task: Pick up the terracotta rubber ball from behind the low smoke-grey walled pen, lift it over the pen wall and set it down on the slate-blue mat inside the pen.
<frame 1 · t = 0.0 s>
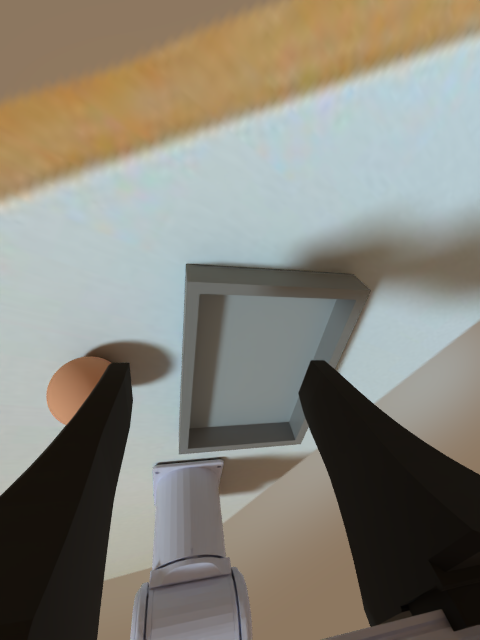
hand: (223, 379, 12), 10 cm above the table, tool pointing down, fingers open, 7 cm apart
walled pen: (253, 364, 26), on the table
ball: (87, 391, 21), point 2 cm above the table
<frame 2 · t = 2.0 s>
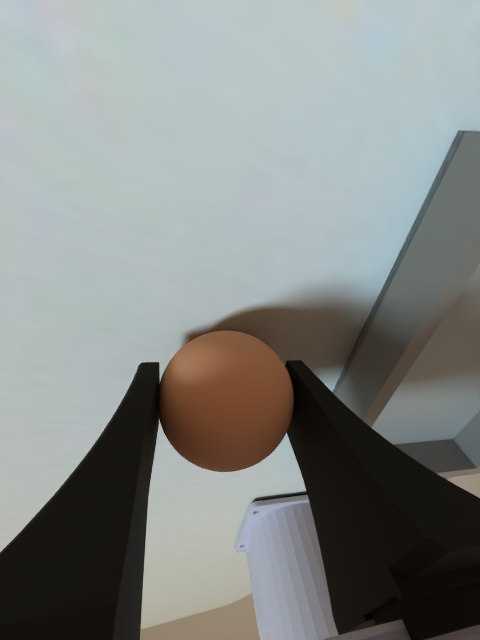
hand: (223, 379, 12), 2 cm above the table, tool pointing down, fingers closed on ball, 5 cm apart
walled pen: (453, 351, 16), on the table
ball: (226, 396, 11), point 2 cm above the table, touching gripper
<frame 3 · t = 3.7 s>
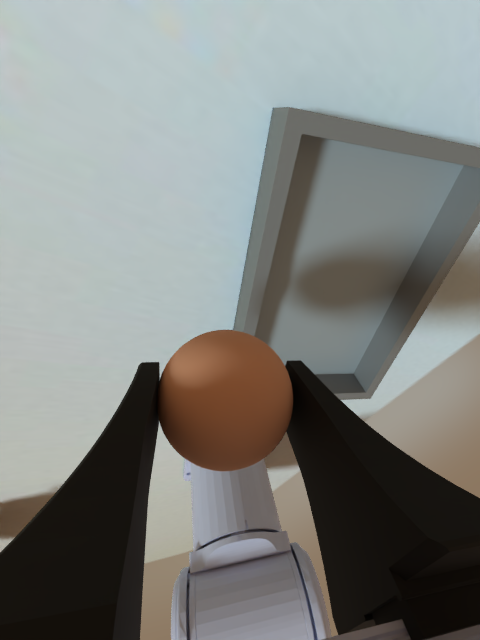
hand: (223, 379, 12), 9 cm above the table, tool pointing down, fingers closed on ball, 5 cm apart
walled pen: (328, 286, 20), on the table
ball: (225, 396, 11), point 9 cm above the table, touching gripper
when the fingers open (3 cm above the table, at t = 5.9 s): ball stays where it is, resting on walled pen.
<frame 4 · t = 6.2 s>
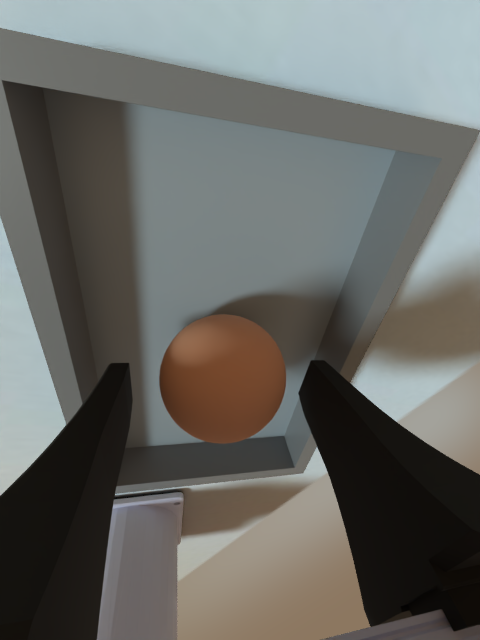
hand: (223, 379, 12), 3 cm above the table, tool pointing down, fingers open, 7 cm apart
walled pen: (215, 334, 14), on the table
ball: (223, 376, 12), point 3 cm above the table, touching walled pen
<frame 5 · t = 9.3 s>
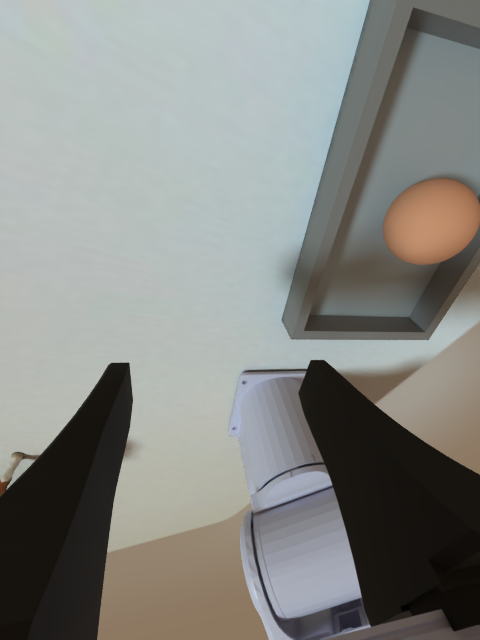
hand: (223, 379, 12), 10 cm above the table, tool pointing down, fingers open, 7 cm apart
walled pen: (397, 212, 20), on the table
ball: (428, 223, 18), point 3 cm above the table, touching walled pen
bull figurine: (22, 469, 30), on the table
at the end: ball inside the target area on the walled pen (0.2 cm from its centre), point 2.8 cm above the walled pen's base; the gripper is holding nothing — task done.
